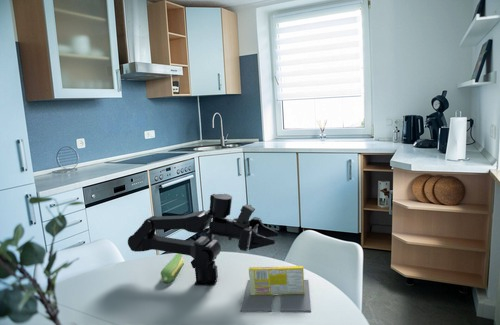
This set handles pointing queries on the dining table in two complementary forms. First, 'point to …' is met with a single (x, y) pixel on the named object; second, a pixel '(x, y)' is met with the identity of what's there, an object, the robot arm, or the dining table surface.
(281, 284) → the candy box
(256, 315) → the dining table surface
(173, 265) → the edible corn
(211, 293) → the dining table surface
